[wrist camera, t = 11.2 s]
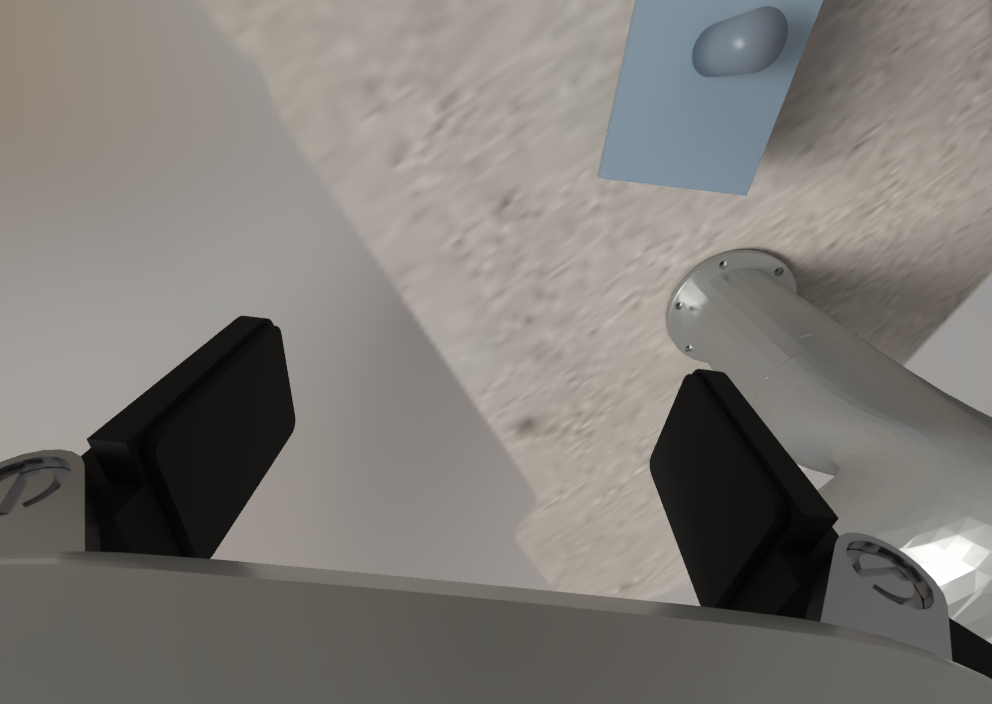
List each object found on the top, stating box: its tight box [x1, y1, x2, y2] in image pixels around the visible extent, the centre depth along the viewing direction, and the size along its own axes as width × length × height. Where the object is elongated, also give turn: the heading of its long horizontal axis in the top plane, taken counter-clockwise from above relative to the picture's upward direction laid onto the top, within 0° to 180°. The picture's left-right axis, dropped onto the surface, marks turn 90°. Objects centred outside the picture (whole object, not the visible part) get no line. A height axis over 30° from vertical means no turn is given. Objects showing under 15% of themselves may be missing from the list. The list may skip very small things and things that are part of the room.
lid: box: [598, 0, 824, 196], centre depth 23 cm, size 10×15×6 cm, turn 174°
